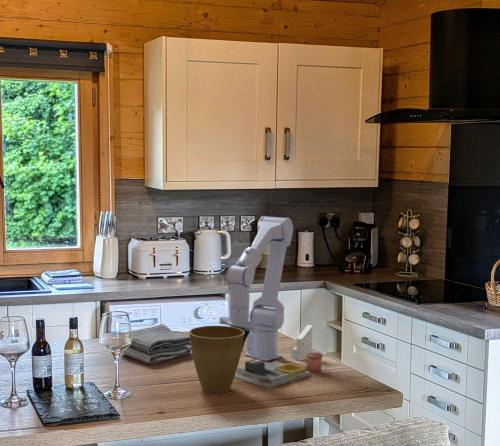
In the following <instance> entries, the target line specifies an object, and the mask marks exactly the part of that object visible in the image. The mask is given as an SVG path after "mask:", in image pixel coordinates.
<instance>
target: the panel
mask: <svg viewBox="0 0 500 446" xmlns="http://www.w3.org/2000/svg"><path fill="white" fill-rule="evenodd" d="M311 374H312V373H311V372H309V371H308V370H307V368H306V367H303V366H300V365H296V364H293V363H283V362H279V361H276V360H275V361H272V362H268V363H265V373H261V374H257V373H254V372H251V371H248V370H245V368H241V367H237V370H236V373H235V377H234V378H236V379H239V380H242V381H245V382H247V383H250V384H255V385H257V386H259V387H262V388H266V389H270V388H274V387H277V386H281V385H283V384H287V383H290V382H293V381H297V380H300V379H304V378H306V377H307V378H308V377H310V376H311Z"/></svg>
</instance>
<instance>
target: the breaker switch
mask: <svg viewBox="0 0 500 446" xmlns="http://www.w3.org/2000/svg"><path fill="white" fill-rule="evenodd" d="M265 364H266V362H265V361H263V360H261V359H256V358H255V359H251V360H247V361H245V362H244V369H245V370H248V371H251V372H254V373H257V374H261V373H265Z"/></svg>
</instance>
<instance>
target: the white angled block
mask: <svg viewBox="0 0 500 446" xmlns="http://www.w3.org/2000/svg"><path fill="white" fill-rule="evenodd" d="M312 346H313V325H311V324H307V325H306V326H305V328H304V329H303V330H302V331H301V332H300V334H299V335H298V336H297V337H296V347H292V348H291V360H295V361H296V360H297V361H303V360H308V357H307V354H308V353H313V349H312V348H313V347H312Z"/></svg>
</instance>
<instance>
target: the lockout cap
mask: <svg viewBox="0 0 500 446" xmlns="http://www.w3.org/2000/svg"><path fill="white" fill-rule="evenodd" d="M323 355H324V354H323V353H320V352H312V353H308V354H307V357H308V358H307V371H309V372H311V374H320V373H321V372H322V359H323V357H324V356H323Z"/></svg>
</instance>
